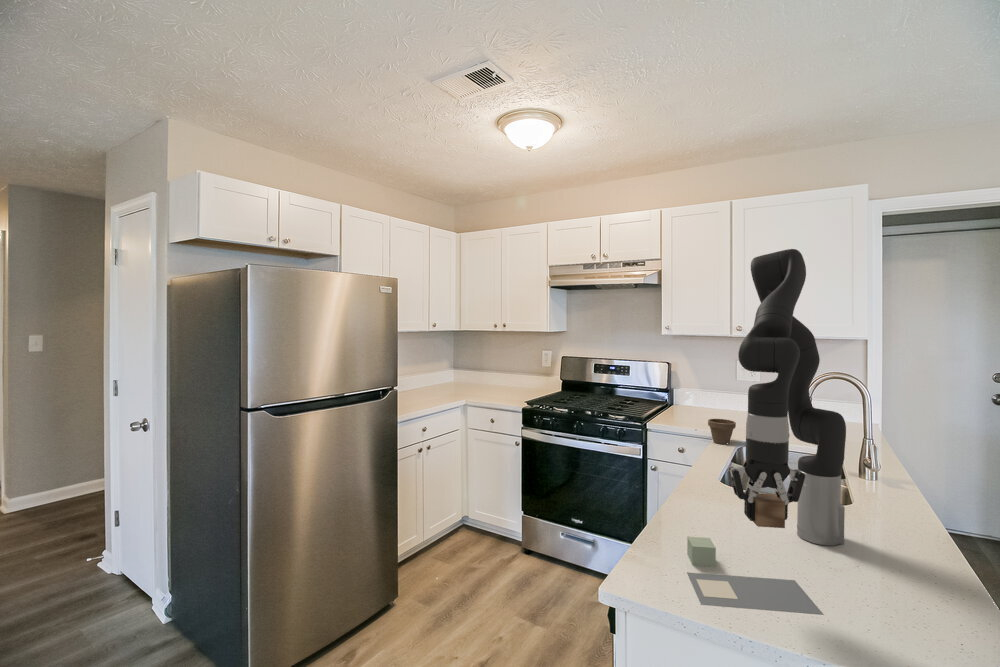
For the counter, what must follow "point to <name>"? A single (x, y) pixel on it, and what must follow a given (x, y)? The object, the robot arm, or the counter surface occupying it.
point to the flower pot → (721, 430)
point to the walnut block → (769, 511)
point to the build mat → (752, 593)
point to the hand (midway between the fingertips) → (765, 519)
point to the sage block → (701, 551)
